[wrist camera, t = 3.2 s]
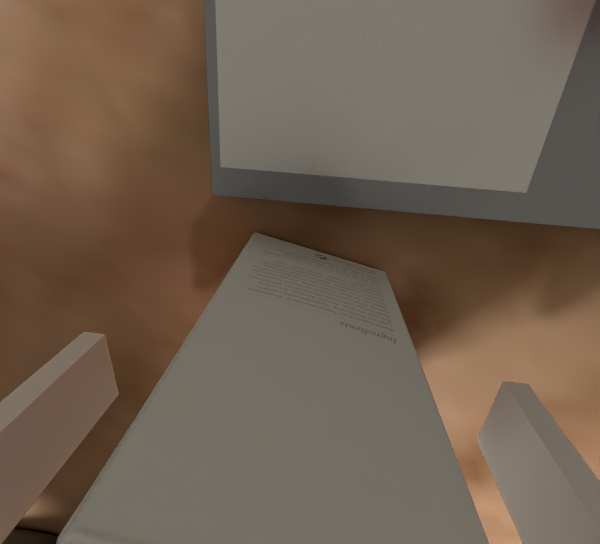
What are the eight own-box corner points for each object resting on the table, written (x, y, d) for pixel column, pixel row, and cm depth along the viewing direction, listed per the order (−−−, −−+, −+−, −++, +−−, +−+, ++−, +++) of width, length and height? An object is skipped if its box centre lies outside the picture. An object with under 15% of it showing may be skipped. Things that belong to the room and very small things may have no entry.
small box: (254, 227, 13) (36, 537, 3) (389, 268, 13) (556, 667, 3) (218, 376, 16) (59, 743, 7) (325, 406, 16) (323, 801, 7)
